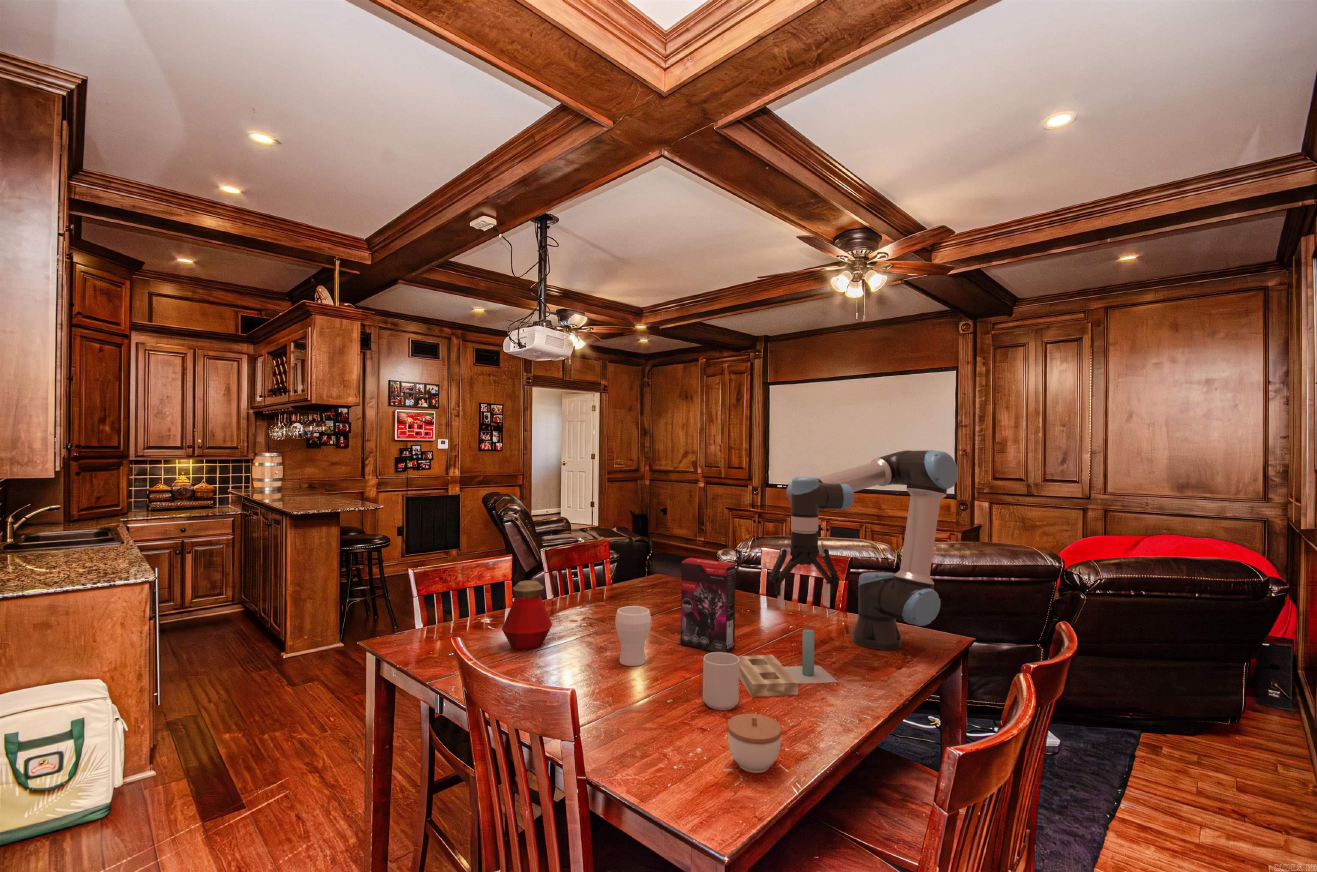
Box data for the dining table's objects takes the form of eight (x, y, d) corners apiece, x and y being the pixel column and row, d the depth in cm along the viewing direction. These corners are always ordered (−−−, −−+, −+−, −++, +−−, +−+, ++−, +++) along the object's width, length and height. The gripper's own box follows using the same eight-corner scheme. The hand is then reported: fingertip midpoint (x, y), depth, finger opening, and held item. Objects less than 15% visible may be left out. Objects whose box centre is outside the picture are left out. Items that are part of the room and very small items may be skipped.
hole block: (772, 667, 167) (772, 654, 167) (798, 696, 147) (798, 682, 147) (732, 668, 165) (732, 656, 165) (752, 698, 146) (752, 684, 146)
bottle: (549, 636, 190) (550, 576, 191) (554, 650, 177) (556, 585, 178) (500, 641, 185) (501, 578, 186) (502, 655, 173) (504, 588, 173)
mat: (819, 666, 168) (819, 665, 168) (837, 683, 156) (837, 681, 156) (780, 668, 166) (780, 666, 166) (795, 684, 154) (795, 683, 154)
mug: (732, 714, 136) (733, 667, 137) (697, 707, 140) (698, 661, 140) (746, 695, 147) (746, 651, 148) (713, 688, 151) (713, 646, 151)
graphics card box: (678, 644, 185) (679, 559, 185) (689, 639, 191) (690, 556, 191) (726, 656, 175) (727, 566, 176) (736, 649, 181) (737, 563, 182)
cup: (657, 661, 170) (658, 610, 170) (632, 671, 162) (633, 617, 162) (632, 652, 177) (633, 603, 177) (607, 661, 169) (608, 610, 170)
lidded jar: (720, 772, 112) (721, 723, 112) (733, 746, 122) (734, 701, 122) (776, 784, 108) (776, 734, 108) (784, 756, 118) (785, 710, 118)
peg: (811, 671, 163) (811, 629, 163) (815, 676, 160) (816, 632, 160) (800, 672, 162) (800, 629, 163) (804, 676, 159) (805, 633, 160)
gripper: (840, 529, 168) (839, 602, 168) (757, 529, 165) (757, 603, 164) (852, 533, 161) (851, 609, 160) (766, 533, 157) (765, 611, 157)
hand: (803, 606), depth 162 cm, fingers open, 13 cm apart
